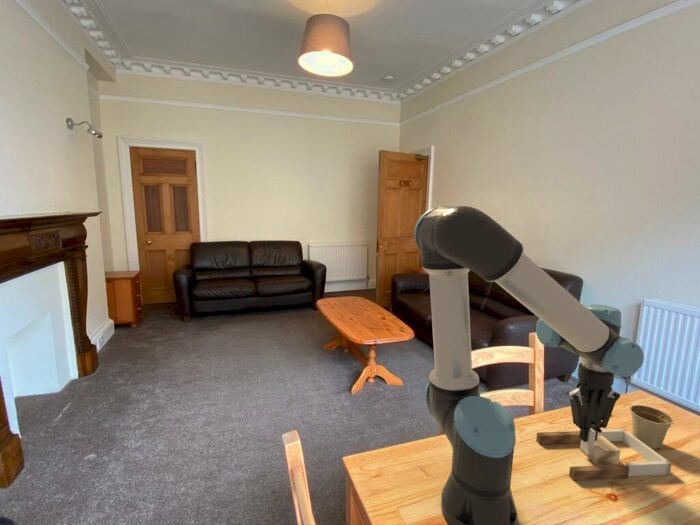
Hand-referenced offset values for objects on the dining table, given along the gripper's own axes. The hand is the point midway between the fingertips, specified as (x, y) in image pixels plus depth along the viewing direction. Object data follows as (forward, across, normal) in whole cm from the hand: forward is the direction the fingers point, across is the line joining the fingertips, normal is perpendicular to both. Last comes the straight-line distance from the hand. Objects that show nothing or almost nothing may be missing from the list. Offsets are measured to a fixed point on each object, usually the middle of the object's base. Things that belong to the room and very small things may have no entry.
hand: (586, 451), depth 94 cm
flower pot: (+2, +22, +5) cm, 23 cm away
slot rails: (+2, -2, 0) cm, 3 cm away
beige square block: (+2, +4, 0) cm, 4 cm away
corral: (+2, +11, 0) cm, 11 cm away
